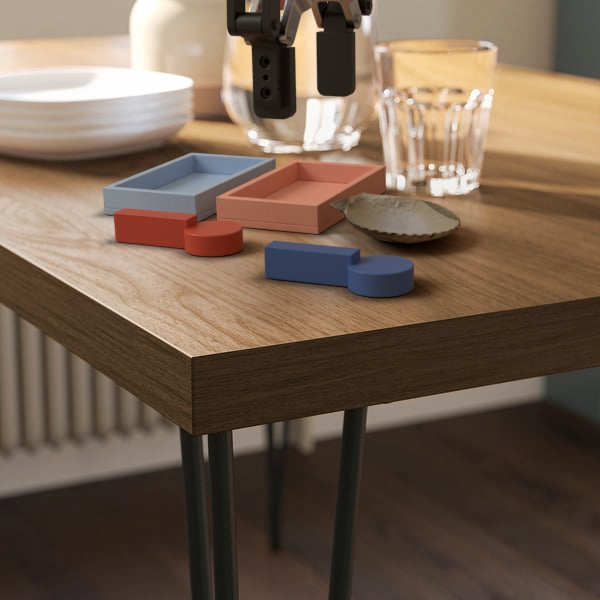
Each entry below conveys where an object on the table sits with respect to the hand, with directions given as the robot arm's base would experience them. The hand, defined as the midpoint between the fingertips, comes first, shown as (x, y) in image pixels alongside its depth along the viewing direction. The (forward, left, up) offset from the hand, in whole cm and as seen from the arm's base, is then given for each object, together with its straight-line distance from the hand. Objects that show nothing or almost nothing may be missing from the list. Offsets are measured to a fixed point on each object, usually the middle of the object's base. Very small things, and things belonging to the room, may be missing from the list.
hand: (307, 106), depth 66 cm
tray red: (-16, -7, -10) cm, 21 cm away
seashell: (-10, +2, -11) cm, 15 cm away
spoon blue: (0, +2, -10) cm, 10 cm away
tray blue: (-16, -17, -10) cm, 25 cm away
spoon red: (-4, -11, -10) cm, 16 cm away
